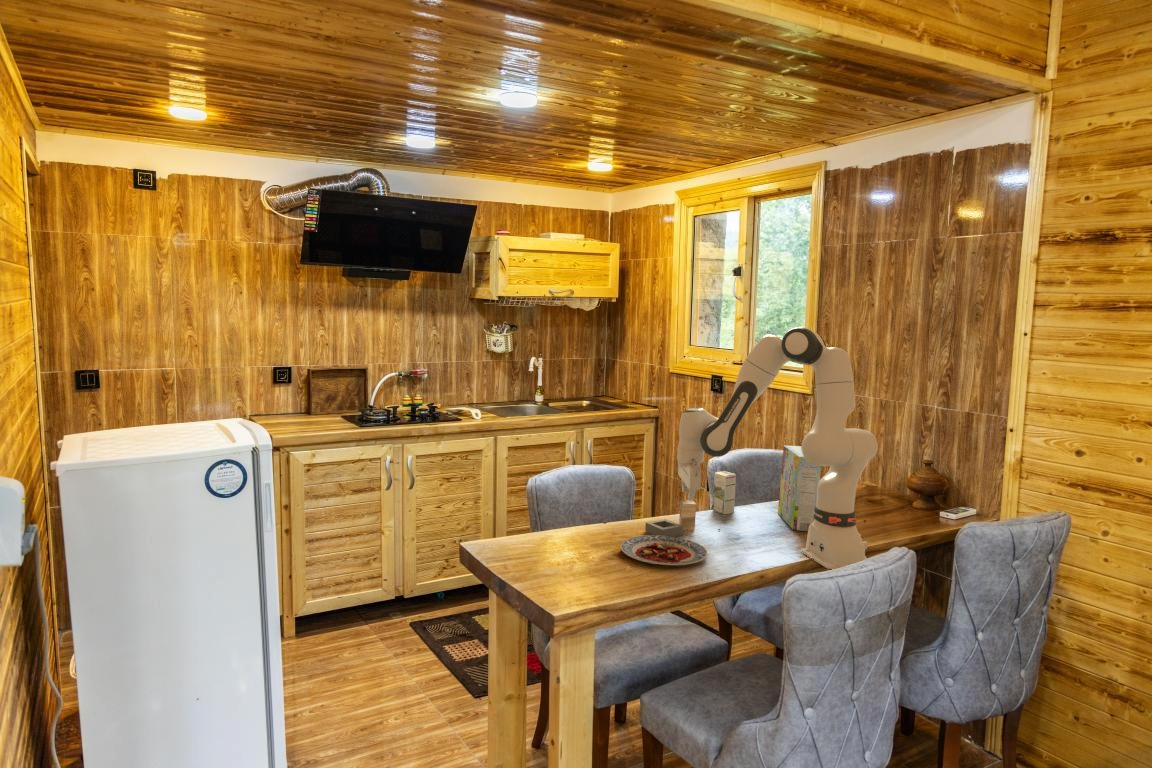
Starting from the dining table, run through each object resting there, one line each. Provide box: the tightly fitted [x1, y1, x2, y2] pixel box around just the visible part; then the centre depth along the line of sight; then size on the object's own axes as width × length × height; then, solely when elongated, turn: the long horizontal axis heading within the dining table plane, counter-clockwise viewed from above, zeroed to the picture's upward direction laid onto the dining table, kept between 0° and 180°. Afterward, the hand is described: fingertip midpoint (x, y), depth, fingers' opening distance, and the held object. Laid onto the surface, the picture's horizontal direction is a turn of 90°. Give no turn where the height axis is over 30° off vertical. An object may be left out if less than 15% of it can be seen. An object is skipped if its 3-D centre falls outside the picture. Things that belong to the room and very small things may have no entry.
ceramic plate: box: [620, 534, 709, 566], centre depth 222 cm, size 26×26×3 cm
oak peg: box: [678, 499, 697, 531], centre depth 249 cm, size 4×4×9 cm
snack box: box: [777, 444, 823, 532], centre depth 259 cm, size 22×9×26 cm, turn 179°
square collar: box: [644, 518, 684, 537], centre depth 243 cm, size 9×9×3 cm
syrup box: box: [712, 470, 737, 515], centre depth 270 cm, size 6×6×14 cm
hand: (687, 496), depth 249 cm, fingers open, 8 cm apart
